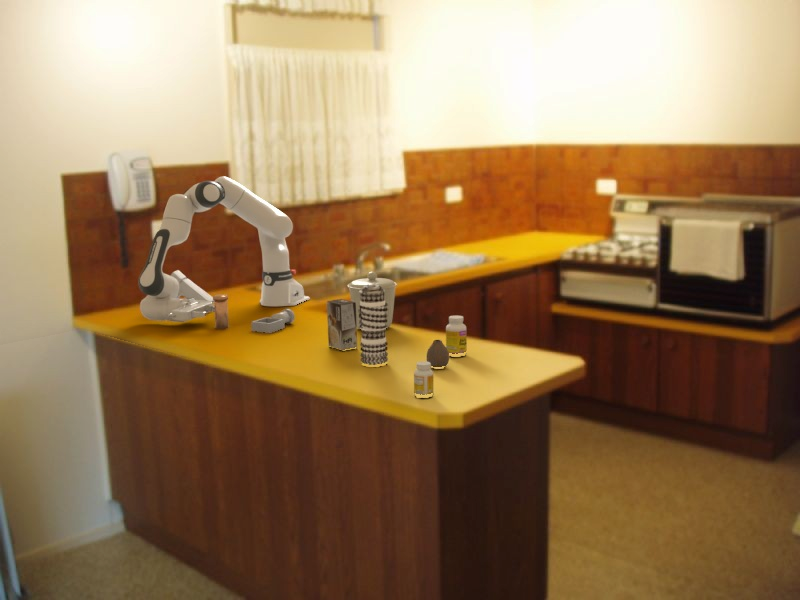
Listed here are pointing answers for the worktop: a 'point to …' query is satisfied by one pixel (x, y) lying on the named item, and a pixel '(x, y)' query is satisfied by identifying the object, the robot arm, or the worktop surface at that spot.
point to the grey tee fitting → (273, 322)
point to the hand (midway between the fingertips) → (211, 311)
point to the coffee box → (342, 324)
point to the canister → (372, 280)
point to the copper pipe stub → (221, 311)
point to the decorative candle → (373, 325)
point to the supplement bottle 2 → (456, 335)
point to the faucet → (190, 288)
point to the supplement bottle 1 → (423, 378)
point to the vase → (437, 354)
